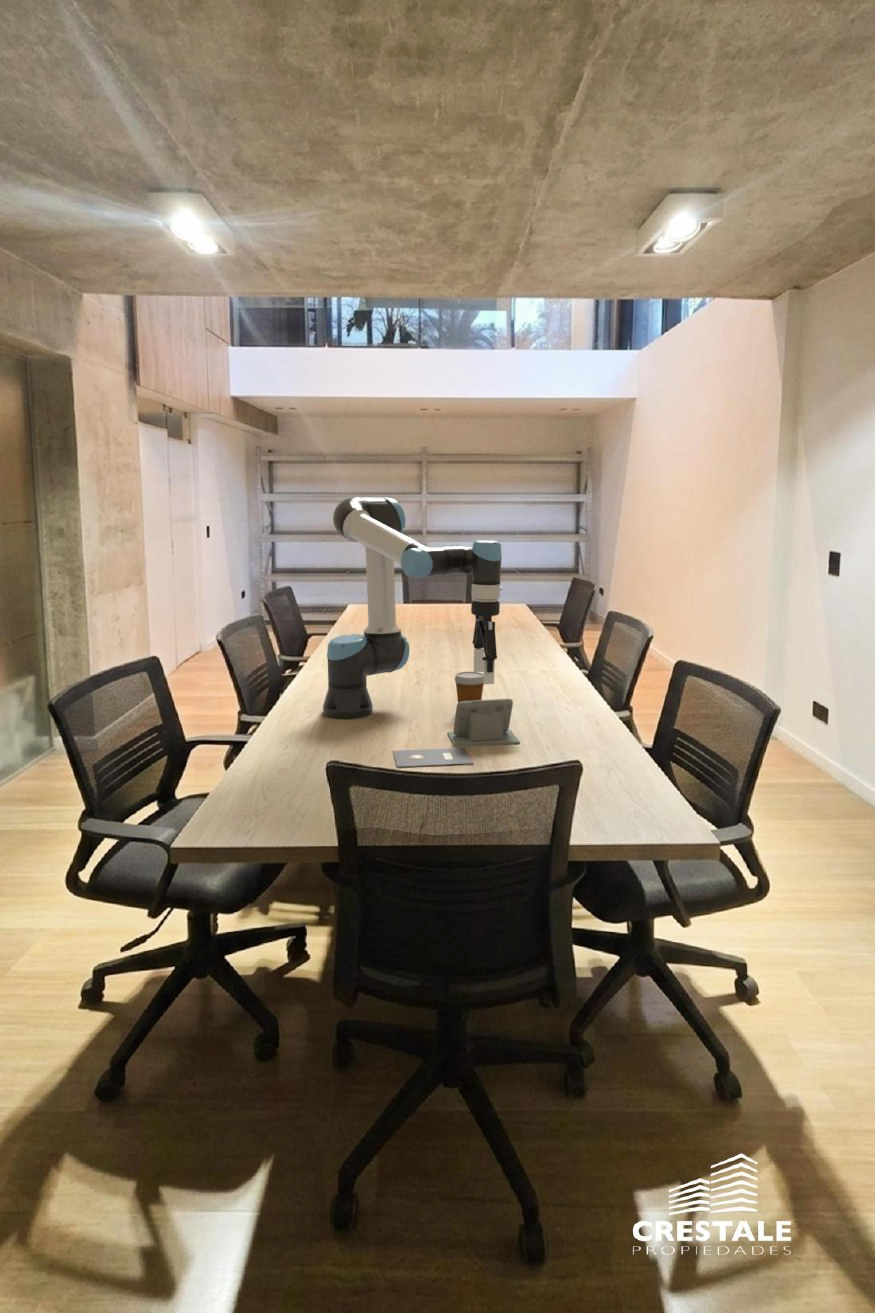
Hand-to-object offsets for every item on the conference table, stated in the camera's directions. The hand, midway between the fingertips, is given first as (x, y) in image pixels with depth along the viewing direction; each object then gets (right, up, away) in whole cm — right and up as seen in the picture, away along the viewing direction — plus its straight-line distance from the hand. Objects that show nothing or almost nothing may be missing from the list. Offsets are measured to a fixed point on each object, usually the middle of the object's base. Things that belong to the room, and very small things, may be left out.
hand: (483, 677), depth 208 cm
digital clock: (0, -16, +4) cm, 17 cm away
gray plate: (-14, -20, -13) cm, 27 cm away
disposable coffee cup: (-3, -12, +29) cm, 31 cm away
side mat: (0, -17, +3) cm, 17 cm away
